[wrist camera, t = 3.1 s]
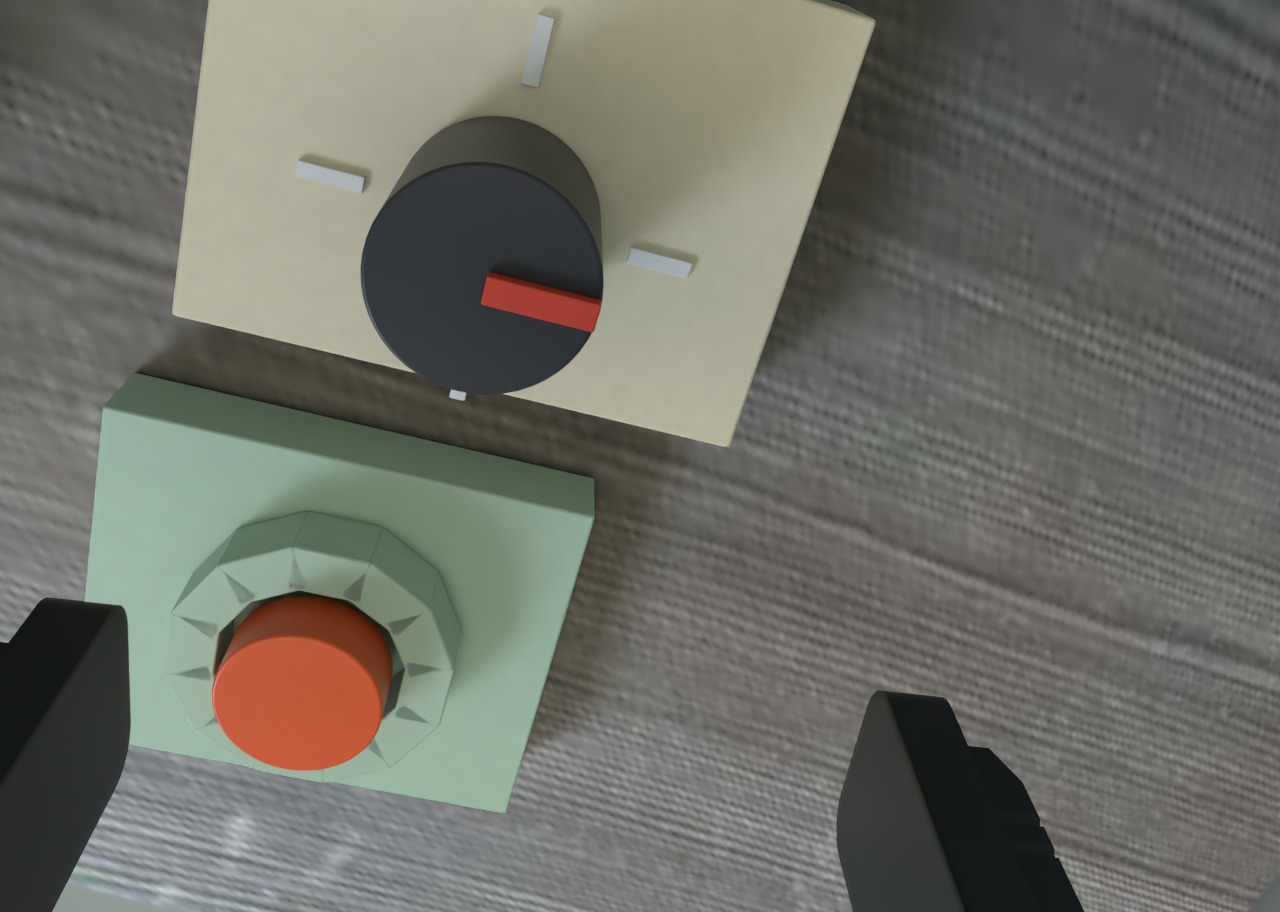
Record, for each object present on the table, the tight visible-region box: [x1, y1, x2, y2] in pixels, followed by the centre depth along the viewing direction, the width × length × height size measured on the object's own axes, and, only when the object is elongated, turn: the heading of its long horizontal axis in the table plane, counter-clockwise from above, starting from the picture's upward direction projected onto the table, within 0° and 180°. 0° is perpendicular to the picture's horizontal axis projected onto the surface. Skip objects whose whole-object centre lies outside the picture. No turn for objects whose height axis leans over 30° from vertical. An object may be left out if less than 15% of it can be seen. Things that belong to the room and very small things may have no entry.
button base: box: [84, 373, 595, 813], centre depth 31 cm, size 12×10×4 cm
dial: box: [360, 116, 604, 395], centre depth 24 cm, size 4×4×5 cm
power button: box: [212, 596, 393, 771], centre depth 29 cm, size 4×4×2 cm
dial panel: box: [172, 0, 875, 447], centre depth 27 cm, size 13×10×3 cm
